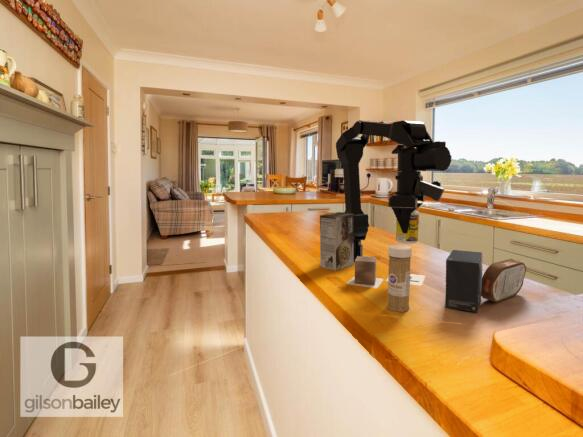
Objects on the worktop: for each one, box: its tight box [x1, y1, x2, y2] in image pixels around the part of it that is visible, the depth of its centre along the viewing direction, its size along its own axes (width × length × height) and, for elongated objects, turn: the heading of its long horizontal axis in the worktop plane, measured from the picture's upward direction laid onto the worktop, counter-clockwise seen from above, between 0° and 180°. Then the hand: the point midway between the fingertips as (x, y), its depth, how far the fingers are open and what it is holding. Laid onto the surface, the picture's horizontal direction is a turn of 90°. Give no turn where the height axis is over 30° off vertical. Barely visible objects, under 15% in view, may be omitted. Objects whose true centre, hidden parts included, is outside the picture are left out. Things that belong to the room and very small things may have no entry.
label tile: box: [384, 273, 426, 287], centre depth 91 cm, size 9×9×1 cm
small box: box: [444, 249, 483, 313], centre depth 74 cm, size 11×6×10 cm, turn 148°
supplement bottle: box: [395, 210, 420, 245], centre depth 89 cm, size 6×6×10 cm
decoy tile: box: [345, 275, 385, 289], centre depth 89 cm, size 8×8×1 cm
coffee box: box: [319, 211, 355, 272], centre depth 103 cm, size 9×6×16 cm
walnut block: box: [354, 256, 377, 285], centre depth 89 cm, size 5×5×6 cm
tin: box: [481, 258, 527, 303], centre depth 76 cm, size 15×3×8 cm, turn 123°
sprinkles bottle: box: [386, 243, 412, 313], centre depth 71 cm, size 5×5×14 cm
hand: (407, 231), depth 89 cm, fingers closed on supplement bottle, 6 cm apart
